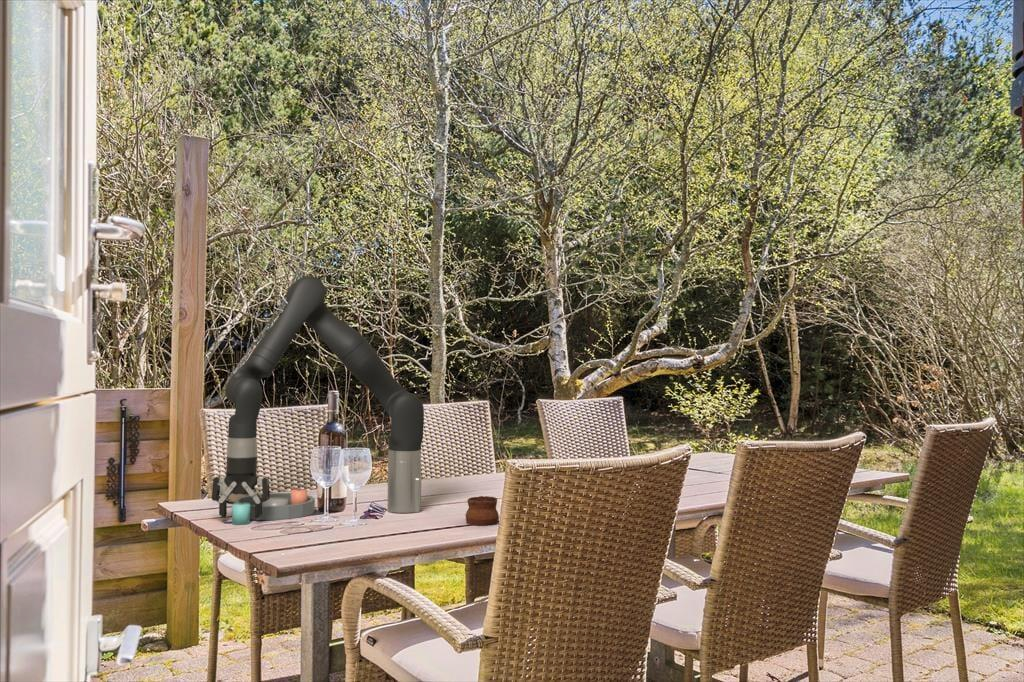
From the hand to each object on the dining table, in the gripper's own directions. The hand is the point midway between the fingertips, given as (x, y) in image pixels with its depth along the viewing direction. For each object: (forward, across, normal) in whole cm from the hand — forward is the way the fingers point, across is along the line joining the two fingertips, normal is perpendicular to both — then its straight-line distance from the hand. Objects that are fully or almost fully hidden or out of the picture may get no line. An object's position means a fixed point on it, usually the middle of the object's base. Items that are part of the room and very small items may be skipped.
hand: (240, 517), depth 223 cm
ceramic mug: (+2, +9, -31) cm, 33 cm away
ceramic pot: (+2, -62, -4) cm, 63 cm away
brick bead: (0, -12, -15) cm, 19 cm away
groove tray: (+1, -5, -15) cm, 16 cm away
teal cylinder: (+2, 0, 0) cm, 2 cm away
